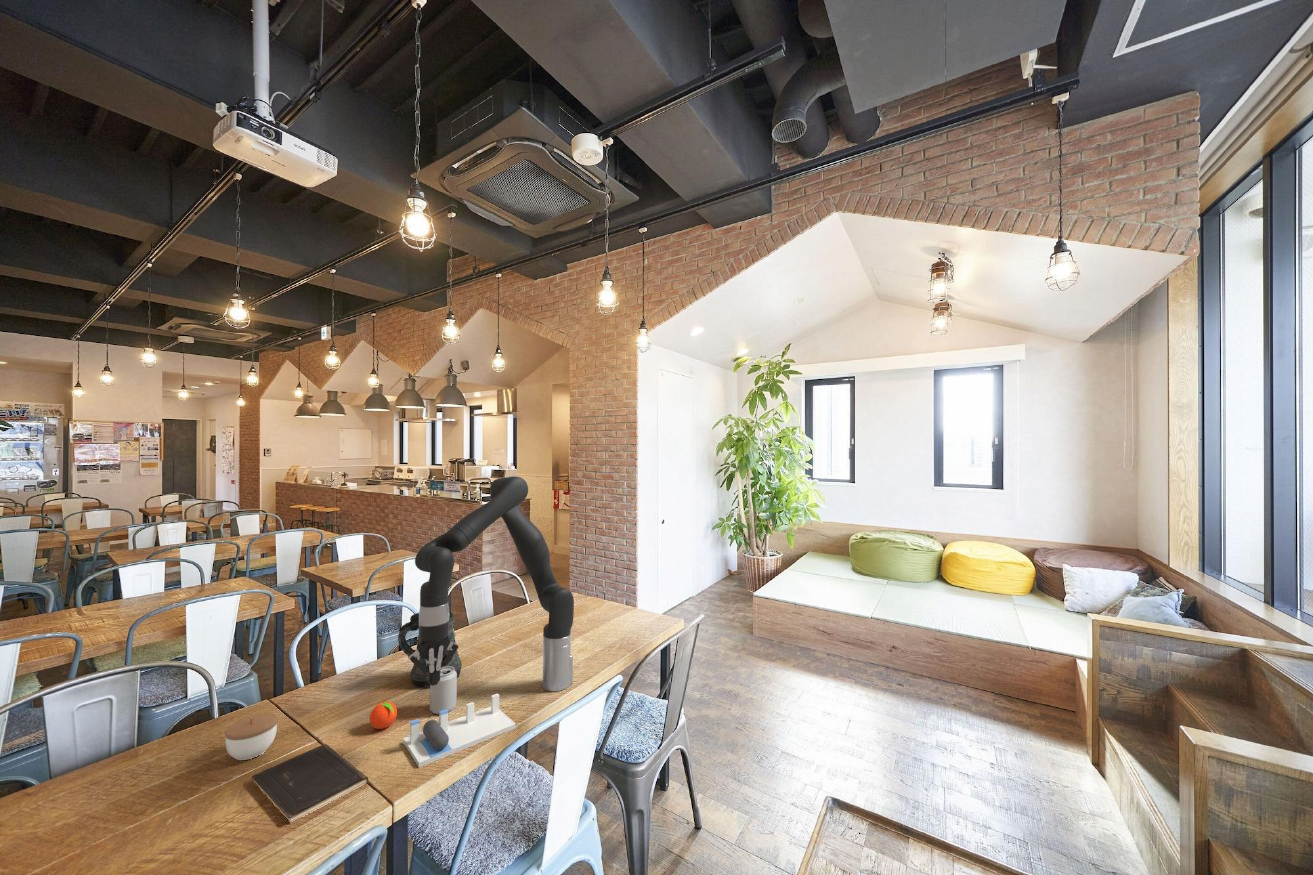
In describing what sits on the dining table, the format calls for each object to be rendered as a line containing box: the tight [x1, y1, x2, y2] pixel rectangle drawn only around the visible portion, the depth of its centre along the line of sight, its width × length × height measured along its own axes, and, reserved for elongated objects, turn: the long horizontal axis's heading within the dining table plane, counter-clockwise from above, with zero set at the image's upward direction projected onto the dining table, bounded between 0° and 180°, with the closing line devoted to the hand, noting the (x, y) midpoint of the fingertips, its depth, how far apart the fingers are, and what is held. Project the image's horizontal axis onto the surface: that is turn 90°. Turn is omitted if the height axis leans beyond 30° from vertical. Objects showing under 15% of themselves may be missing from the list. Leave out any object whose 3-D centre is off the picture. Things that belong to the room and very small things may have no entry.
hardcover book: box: [251, 743, 369, 824], centre depth 115 cm, size 16×23×2 cm
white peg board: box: [402, 693, 517, 768], centre depth 135 cm, size 26×14×7 cm, turn 132°
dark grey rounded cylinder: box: [422, 719, 449, 750], centre depth 129 cm, size 12×4×4 cm, turn 42°
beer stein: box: [397, 610, 463, 689], centre depth 169 cm, size 16×19×25 cm
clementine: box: [369, 700, 398, 730], centre depth 139 cm, size 8×7×7 cm
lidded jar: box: [224, 712, 279, 760], centre depth 127 cm, size 11×11×9 cm
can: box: [429, 666, 458, 715], centre depth 149 cm, size 8×8×12 cm
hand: (433, 684), depth 131 cm, fingers closed
